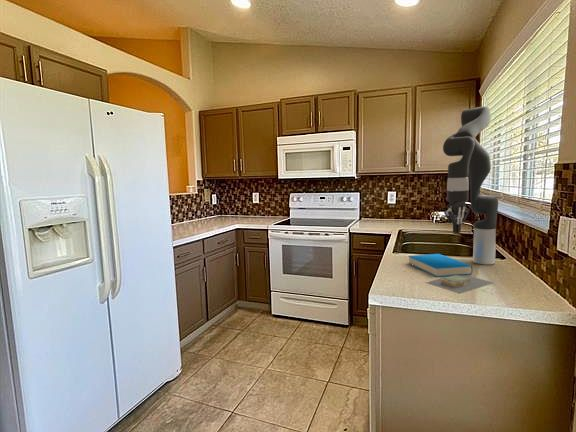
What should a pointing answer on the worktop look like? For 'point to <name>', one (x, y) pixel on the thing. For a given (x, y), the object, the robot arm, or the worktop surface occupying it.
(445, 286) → the mat
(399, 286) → the worktop surface
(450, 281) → the tile
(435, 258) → the book
